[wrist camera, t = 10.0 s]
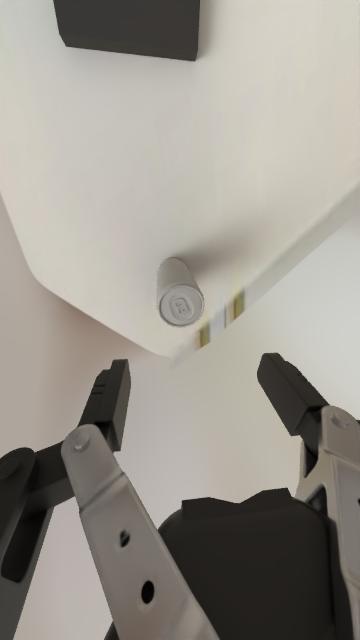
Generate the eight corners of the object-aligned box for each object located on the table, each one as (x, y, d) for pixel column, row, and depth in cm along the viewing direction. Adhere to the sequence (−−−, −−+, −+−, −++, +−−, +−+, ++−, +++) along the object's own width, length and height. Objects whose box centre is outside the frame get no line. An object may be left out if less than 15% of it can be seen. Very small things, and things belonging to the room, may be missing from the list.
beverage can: (165, 293, 30) (169, 335, 20) (151, 265, 28) (147, 296, 17) (193, 281, 29) (212, 317, 19) (181, 251, 27) (196, 275, 17)
